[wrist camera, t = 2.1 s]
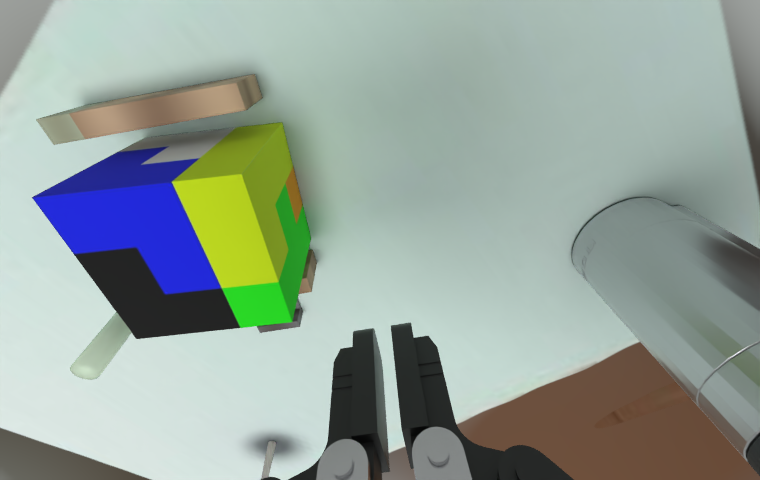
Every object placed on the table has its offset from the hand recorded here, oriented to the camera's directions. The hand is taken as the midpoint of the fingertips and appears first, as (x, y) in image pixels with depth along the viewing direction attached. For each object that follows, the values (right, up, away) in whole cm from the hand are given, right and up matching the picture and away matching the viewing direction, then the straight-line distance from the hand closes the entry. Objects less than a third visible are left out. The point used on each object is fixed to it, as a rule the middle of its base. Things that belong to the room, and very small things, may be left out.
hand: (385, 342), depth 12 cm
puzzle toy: (-12, +8, +15) cm, 21 cm away
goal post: (-23, -2, +20) cm, 31 cm away
